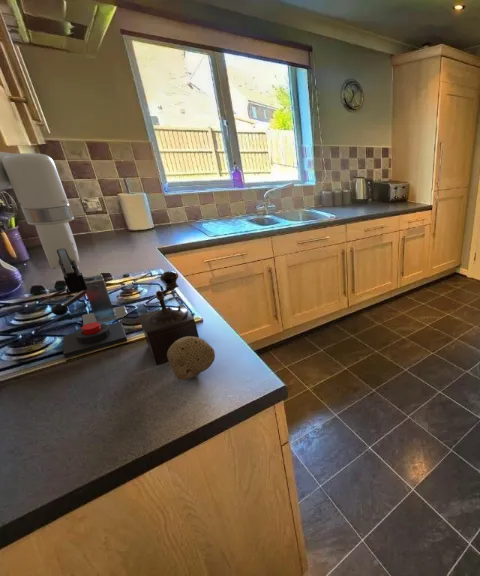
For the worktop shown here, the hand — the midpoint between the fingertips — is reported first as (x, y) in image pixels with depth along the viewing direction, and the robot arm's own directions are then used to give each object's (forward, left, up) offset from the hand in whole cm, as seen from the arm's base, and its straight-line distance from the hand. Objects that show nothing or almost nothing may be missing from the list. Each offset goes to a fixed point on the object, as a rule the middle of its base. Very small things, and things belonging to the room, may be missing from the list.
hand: (78, 290), depth 79 cm
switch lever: (-1, +14, -8) cm, 16 cm away
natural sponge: (+16, -29, -16) cm, 36 cm away
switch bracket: (+3, +14, -15) cm, 21 cm away
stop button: (0, 0, -12) cm, 12 cm away
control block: (0, 0, -15) cm, 15 cm away
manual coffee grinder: (+15, -12, -16) cm, 24 cm away
